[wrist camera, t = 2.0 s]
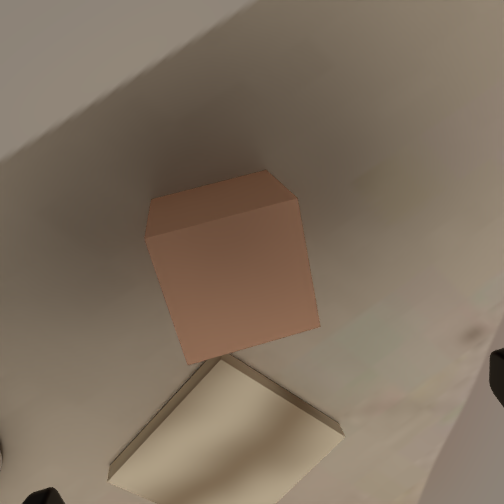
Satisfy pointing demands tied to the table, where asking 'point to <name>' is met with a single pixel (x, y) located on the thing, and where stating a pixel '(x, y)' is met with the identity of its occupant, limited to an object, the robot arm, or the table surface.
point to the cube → (232, 264)
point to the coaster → (226, 441)
